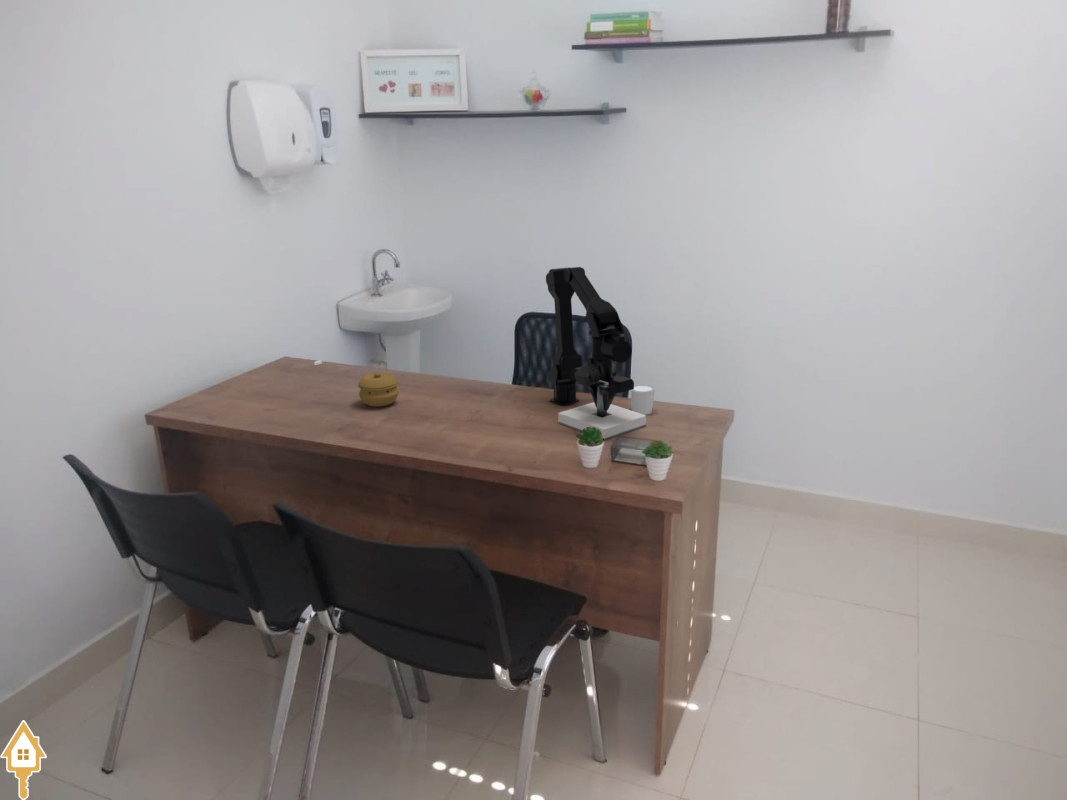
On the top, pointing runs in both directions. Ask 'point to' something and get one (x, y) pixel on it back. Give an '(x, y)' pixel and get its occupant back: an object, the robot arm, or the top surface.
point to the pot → (378, 389)
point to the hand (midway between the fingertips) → (601, 409)
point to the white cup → (642, 399)
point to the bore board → (602, 420)
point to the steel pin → (600, 402)
